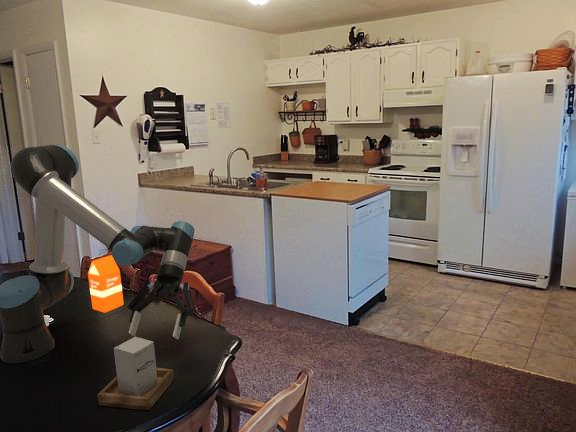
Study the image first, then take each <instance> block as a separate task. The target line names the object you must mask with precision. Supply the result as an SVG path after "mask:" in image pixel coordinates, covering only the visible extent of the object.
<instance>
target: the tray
mask: <svg viewBox="0 0 576 432" xmlns="http://www.w3.org/2000/svg"><path fill="white" fill-rule="evenodd" d="M156 370H157V380H158V384H157V385H156V386H154V387H153V388H151V389H150V390H148V391H147V392H145V393H144V394H142V395H141V396H133V395H127V394H125V393H122V392H120V391H119V389H118V380H117V375H116V376H115V377H114V378H113V379H112V380H111V381H110V382H109V383H108V384H106V386H105V387H104V388H103V389H101V390H100V392H99V393H98V394H97V401H98V405H99V406H105V407H112V408H113V407H114V408H122V409H124V408H125V409H131V410H140V411H141V410H144V411H150V410H151V409H152V408H153V406H154V405H155V404H156V402H158V400H159V399H160V398H161V396H162V395H163V394H164V392H165V391H166V390H167V389H168V388H169V387H170V385H171V384H172V382H174V380H175V376H174V375H175V374H174V368H173V369H172V368H163V367H156Z"/></svg>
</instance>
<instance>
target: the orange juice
mask: <svg viewBox="0 0 576 432" xmlns="http://www.w3.org/2000/svg"><path fill="white" fill-rule="evenodd" d="M117 264H118V263H116V262H115V260H114V258H113V256H112V254H110V255H107V256H104V257H100V258H98V259H97V258H96V259H94V260H92V261H91V264H90V266H89V270H88V272H87V277H88V284H89V291H90V292H89V293H90V300H91V306H92V310H95V311H98V312H102V313H104V314H105V313H108V312H110V311H112V310H114V309H117V308H119V307H121V306H123V305H124V304H125V302H124V295H123V286H122V279H121V278H122V277H121V270H120V268H119V266H118V265H117Z"/></svg>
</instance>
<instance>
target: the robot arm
mask: <svg viewBox="0 0 576 432" xmlns="http://www.w3.org/2000/svg"><path fill="white" fill-rule="evenodd" d="M79 168H80V166H79V160H78V158H77V156H76V154H75V153H74V152H73V151H72V150H71V149H70V148H68V147H66V146H64V145H62V144H47V145H40V146H29V147H25V148H22V149H20V150H18V151H17V152H16V153H15V154H14V156H13V157H12V159H11V162H10V171H11V174H12V177H13V179H14V181H15V182H16V183H17V184H18V186H19V187H21V189H23V190H24V191H25V192H26V193H28V194H29V195H30V196H31V197H33V198H34V199H35V214H34V215H35V216H34V217H35V219H34V220H35V221H34V222H35V223H34V224H35V225H34V259H33V260H34V261H32V263H30V264H29V266H28V267H29V268H28V275H20V276H16V277H15V278H10V279H7V280H6V281H4V282H2V283H1V284H0V323H1V329H2V340H1V345H0V346H1V347H0V360H1V361H2V362H3V361H4V362H3V363H6V362H7V364H21V363H27V362H30V361H34V360H36V359H40V358H42V357H44V356H45V355H47V354H49V353H50V352H52V351H53V349H54V348H55V347H56V345H55V343H56V342H55V339H54V336H53V335H52V334H51V331H50V329H49V327H48V326H47V324H46V321H45V313H44V311H45V310H46V309H48V308H50V307H52V306H53V305H54V304H56V303H57V302H60V301H62V300H63V299H65V297H67V296H68V295H69V294H70V292H71V291H72V290H73V287H74V284H75V283H74V282H75V280H74V279H75V278H74V275H73V273H72V272H71V270H69V269H68V265H69V264H68V263H67V262H65V261H64V247H65V244H64V243H65V226H66V225H65V222H66V221H65V220H66V218H67V219H69V220H70V222H71V221H72V222H73V223H74V224H75V225H76V226H78V227H80V228H81V229H82V230H84V232H86V233H88V234H89V235H90V236H92V237H93V238H94V239H95V240H97V241H98V242H100V243H101V244H103V245H104V246H105V247H107V248H108V249H109V250H110V251H111V255H112V257H113V259H114V261H115V262H116V264H118V265H119V266H123V267H129V266H132V265H135V263H138V262H139V261H141V260H142V259H143V258H144V257H145V256H147V255H149V254H150V253H152V252H153V251H157V252H163V254H162V255H163V256H162V258H161V262H160V266H159V268H158V271H157V275H156V280H155V281H150V280H149V279H146V280H145V282H144V284H143V287H142V288H141V289H140V290H139V292H138V293H137V294H136V295H135V296H134V298H133V299H132V300H131V301H130V302H129V304H128V305H127V309H128V310H129V311H131V312H132V313H131V314H130V318H129V323H130V326H129V330H128V334H129V335H131V336H132V337H136V333H137V330H138V327H139V323H140V320H141V319H142V318H141V317H142V313H141V312H142V311H143V310H144V309H146V308H147V307H148V306H150V304H152V303H153V302H154V301H155V300H157V299H159V298H162V299H163V298H168V299H171V298H173V300H174V302H175V304H176V306H177V307H178V310H179V311H180V313H178V314H177V317H176V322H175V325H174V327H173V328H174V330H173V332H172V337H173V338H174V339H175V340H179V338H180V335H181V332H182V329H183V328H185V326H186V322H187V320H188V319H187V317H189V316H194V315H195V309H194V305H193V300H192V296H191V286H190V284H189V283H188V282H187V281H185V282H184V283H182V281H183V278H184V274H185V270H186V266H187V264H188V263H187V262H188V259H189V255H190V251H191V247H192V245H193V243H194V236H195V235H194V234H195V228H194V226H193V225H192V224H191V223H190V222H187V221H184V220H178V221H174V222H172V225H171V226H170V227H160V226H150V225H149V226H148V225H135V226H133V227H132V228H131V230H129V229H127V228H126V227H125V226H123V225H122V224H121V223H119V221H116V220H115V219H114V218H112V217H111V216H110V215H109V214H107V213H106V212H105V211H103V210H102V209H100V208H99V207H98V206H97V205H96V204H94V203H92V202H91V201H90V200H88V199H87V198H86V197H85V196H83V195H82V194H80V193H79V192H78V191H77V190H75V189H74V188H73V187H72V179H74V177H75V176H76V175H77V174H78V172H79ZM180 290H182V291H183V296H184V302H185V306H186V307H185V306H184V303H183V302H182V300H181V298H180V296H179V294H178V292H179V291H180Z"/></svg>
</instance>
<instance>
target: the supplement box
mask: <svg viewBox="0 0 576 432" xmlns="http://www.w3.org/2000/svg"><path fill="white" fill-rule="evenodd" d="M154 343H155V342H154V341H152V340H149V339H146V338H142V337H139V336H138V337H137V336H132V337H131V338H130V339H128V340H127V341H124V342H123V343H120V344H119V345H117V346H115V347H113V353H114V363H115V370H116V372H115V373H116V376H117V380H118V389H119V391H120V392H122V393H125V394H127V395H133V396H141V395H142V394H144V393H145V392H147V391H148V390H150V389H151V388H153V387H154V386H156V385H157V384H158V380H157V370H156V368H157V363H156V361H157V360H156V352H155V344H154Z"/></svg>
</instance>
